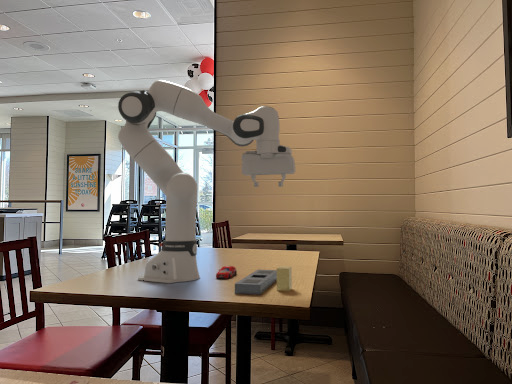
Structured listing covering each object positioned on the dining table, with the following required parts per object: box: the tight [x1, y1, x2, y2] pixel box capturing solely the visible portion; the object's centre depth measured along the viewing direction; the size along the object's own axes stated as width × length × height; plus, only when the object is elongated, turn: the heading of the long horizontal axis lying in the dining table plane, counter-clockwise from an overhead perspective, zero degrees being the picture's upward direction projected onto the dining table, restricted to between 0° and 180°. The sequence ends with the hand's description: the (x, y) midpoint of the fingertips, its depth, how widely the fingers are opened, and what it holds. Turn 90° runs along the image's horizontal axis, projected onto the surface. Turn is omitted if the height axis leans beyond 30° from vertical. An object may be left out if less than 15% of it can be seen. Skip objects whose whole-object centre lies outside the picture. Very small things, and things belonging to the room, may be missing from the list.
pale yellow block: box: [276, 266, 293, 292], centre depth 120 cm, size 4×4×7 cm
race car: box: [215, 265, 238, 280], centre depth 144 cm, size 13×5×4 cm, turn 165°
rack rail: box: [234, 269, 277, 296], centre depth 127 cm, size 8×28×3 cm, turn 165°
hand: (268, 186), depth 141 cm, fingers open, 8 cm apart
